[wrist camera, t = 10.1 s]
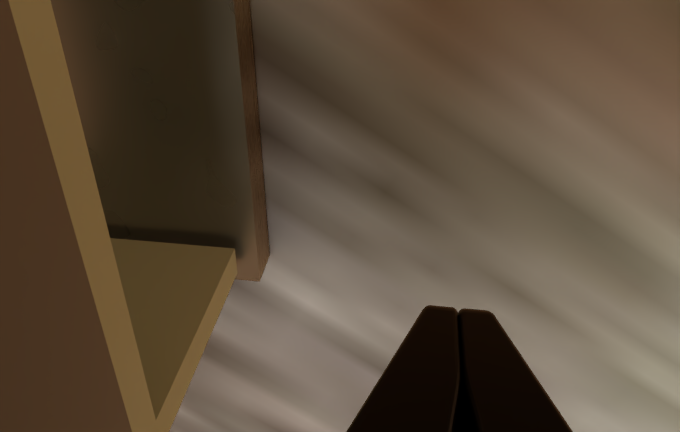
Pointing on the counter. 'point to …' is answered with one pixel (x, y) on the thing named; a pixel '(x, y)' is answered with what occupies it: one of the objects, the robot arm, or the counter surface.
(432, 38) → the counter surface
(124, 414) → the cover
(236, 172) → the housing base
